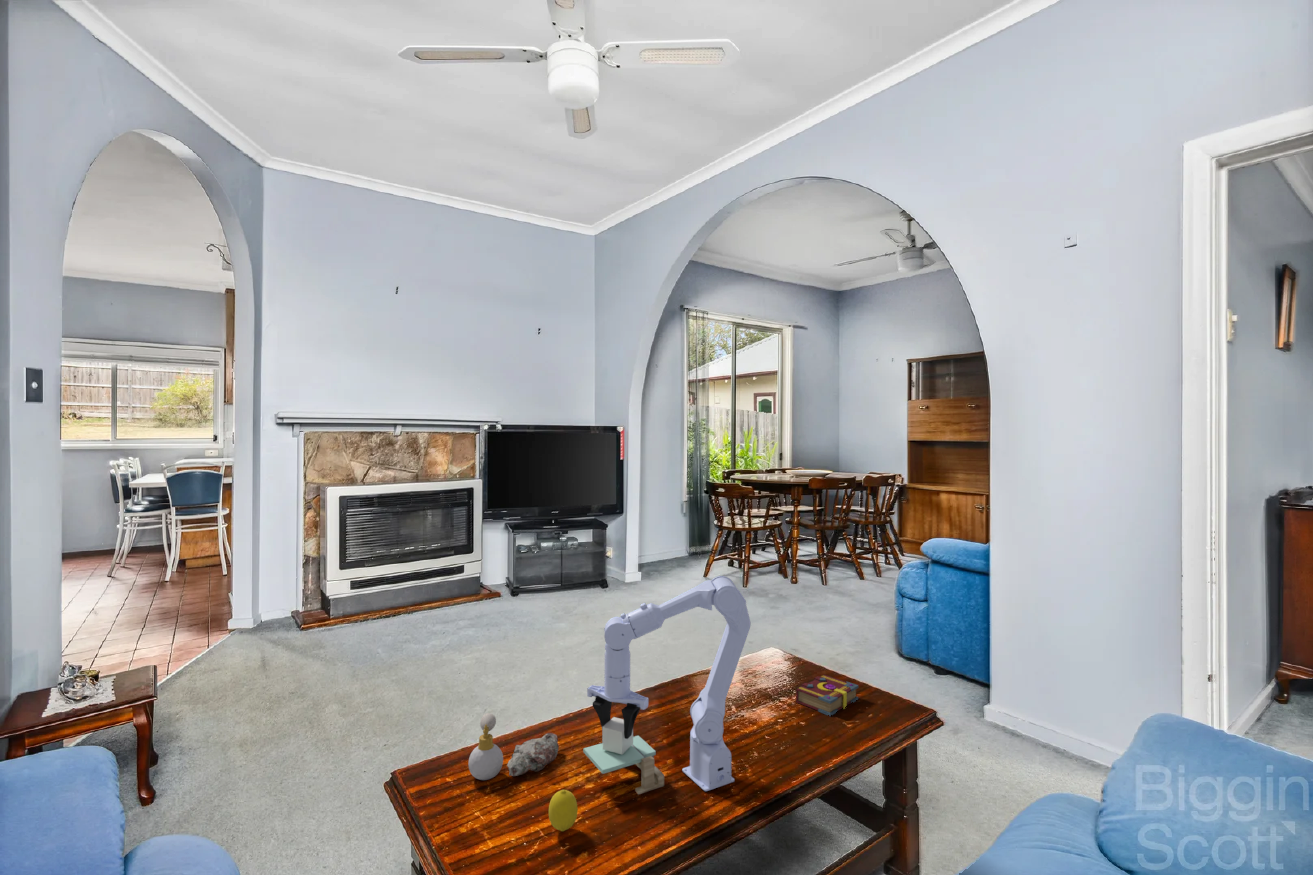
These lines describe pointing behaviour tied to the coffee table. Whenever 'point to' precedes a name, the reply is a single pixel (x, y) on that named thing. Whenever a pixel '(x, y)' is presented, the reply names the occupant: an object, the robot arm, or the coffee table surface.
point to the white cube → (615, 736)
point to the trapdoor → (619, 755)
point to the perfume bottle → (486, 752)
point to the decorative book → (826, 694)
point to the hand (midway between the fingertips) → (617, 733)
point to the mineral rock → (533, 754)
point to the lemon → (563, 810)
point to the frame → (649, 776)
